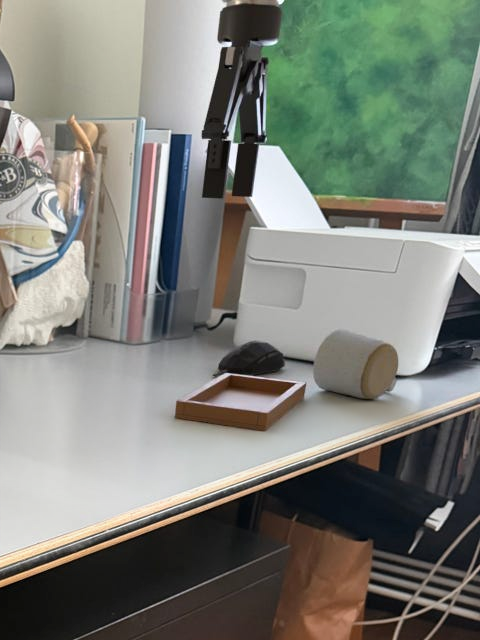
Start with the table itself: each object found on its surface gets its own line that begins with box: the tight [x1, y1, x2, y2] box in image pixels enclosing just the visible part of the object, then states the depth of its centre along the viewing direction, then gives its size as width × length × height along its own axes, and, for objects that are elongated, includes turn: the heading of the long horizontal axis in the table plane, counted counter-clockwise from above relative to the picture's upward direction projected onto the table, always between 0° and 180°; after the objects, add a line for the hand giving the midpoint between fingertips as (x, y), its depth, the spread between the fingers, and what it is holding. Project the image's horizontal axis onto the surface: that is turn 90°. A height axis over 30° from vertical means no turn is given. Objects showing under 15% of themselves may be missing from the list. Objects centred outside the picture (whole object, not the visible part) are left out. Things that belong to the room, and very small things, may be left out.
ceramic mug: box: [312, 328, 399, 400], centre depth 120 cm, size 11×8×8 cm
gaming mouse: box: [212, 340, 286, 378], centre depth 133 cm, size 6×15×4 cm, turn 132°
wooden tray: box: [174, 373, 307, 432], centre depth 113 cm, size 10×20×2 cm, turn 151°
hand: (227, 197), depth 124 cm, fingers open, 13 cm apart
